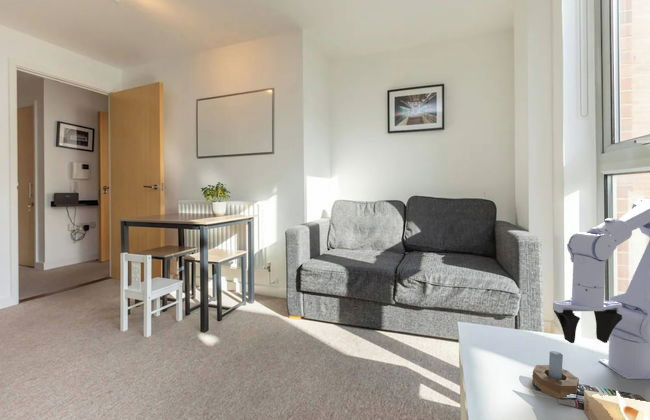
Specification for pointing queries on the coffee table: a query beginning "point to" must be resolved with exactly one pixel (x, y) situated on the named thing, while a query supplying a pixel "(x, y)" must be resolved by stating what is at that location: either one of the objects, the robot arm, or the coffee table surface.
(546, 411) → the coffee table surface
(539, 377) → the wooden octagonal ring
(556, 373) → the dowel
